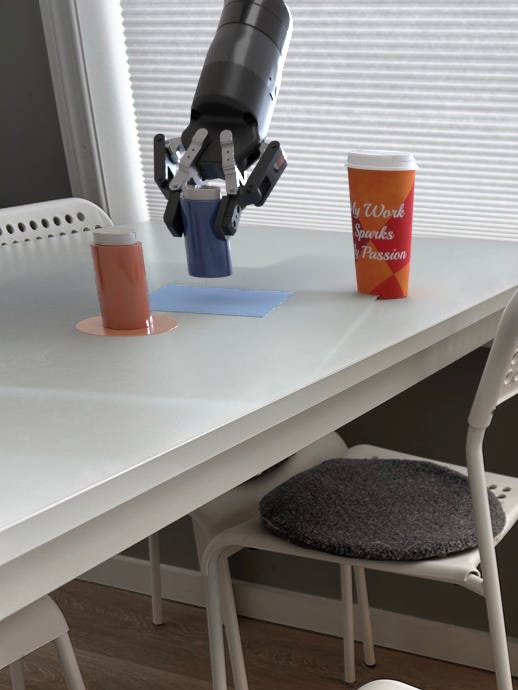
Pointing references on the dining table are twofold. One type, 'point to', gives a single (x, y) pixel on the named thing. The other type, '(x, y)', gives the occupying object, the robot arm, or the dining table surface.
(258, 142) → the robot arm
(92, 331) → the terracotta coaster
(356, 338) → the dining table surface
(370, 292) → the paper cup
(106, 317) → the red shaker
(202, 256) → the blue shaker
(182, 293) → the blue mat
